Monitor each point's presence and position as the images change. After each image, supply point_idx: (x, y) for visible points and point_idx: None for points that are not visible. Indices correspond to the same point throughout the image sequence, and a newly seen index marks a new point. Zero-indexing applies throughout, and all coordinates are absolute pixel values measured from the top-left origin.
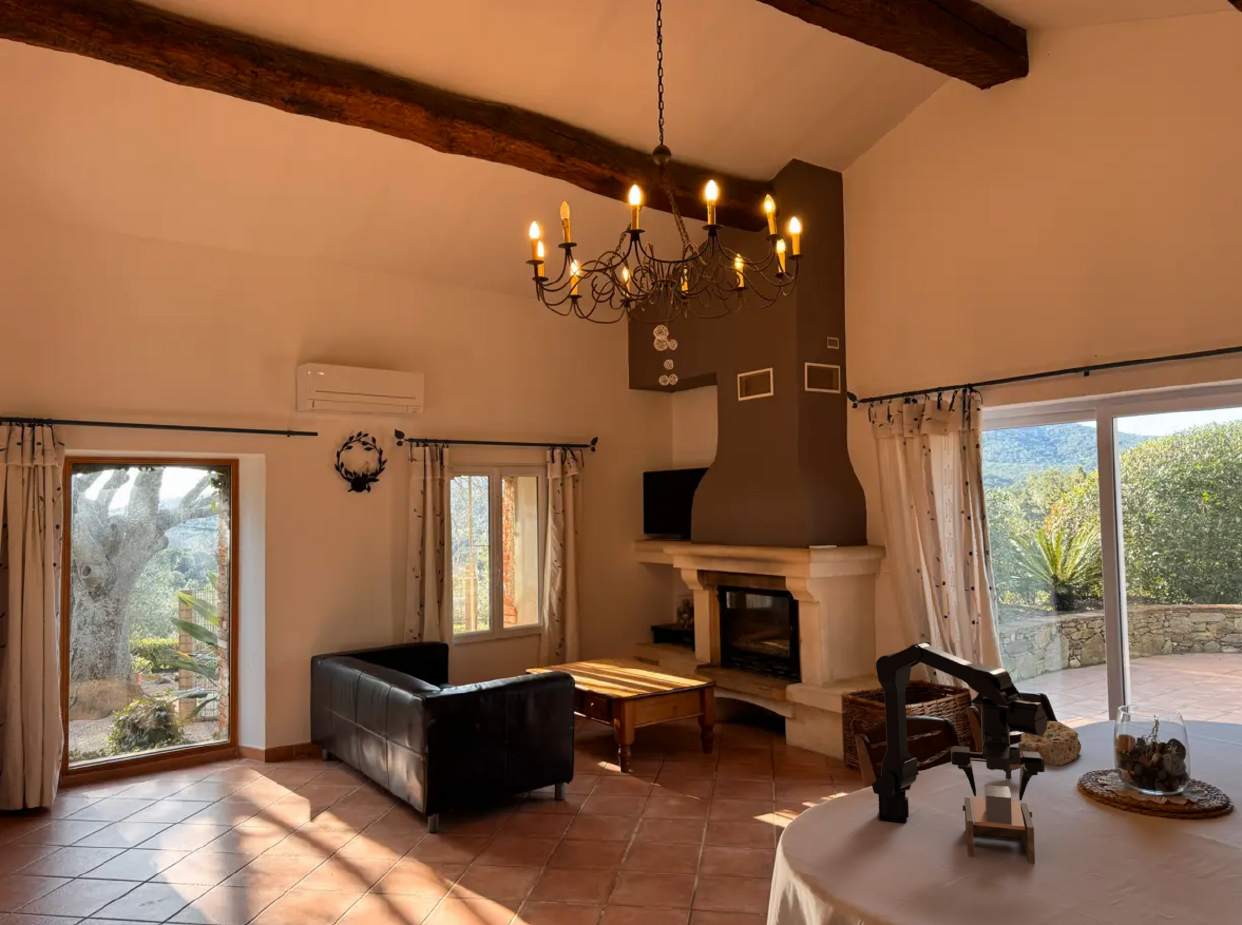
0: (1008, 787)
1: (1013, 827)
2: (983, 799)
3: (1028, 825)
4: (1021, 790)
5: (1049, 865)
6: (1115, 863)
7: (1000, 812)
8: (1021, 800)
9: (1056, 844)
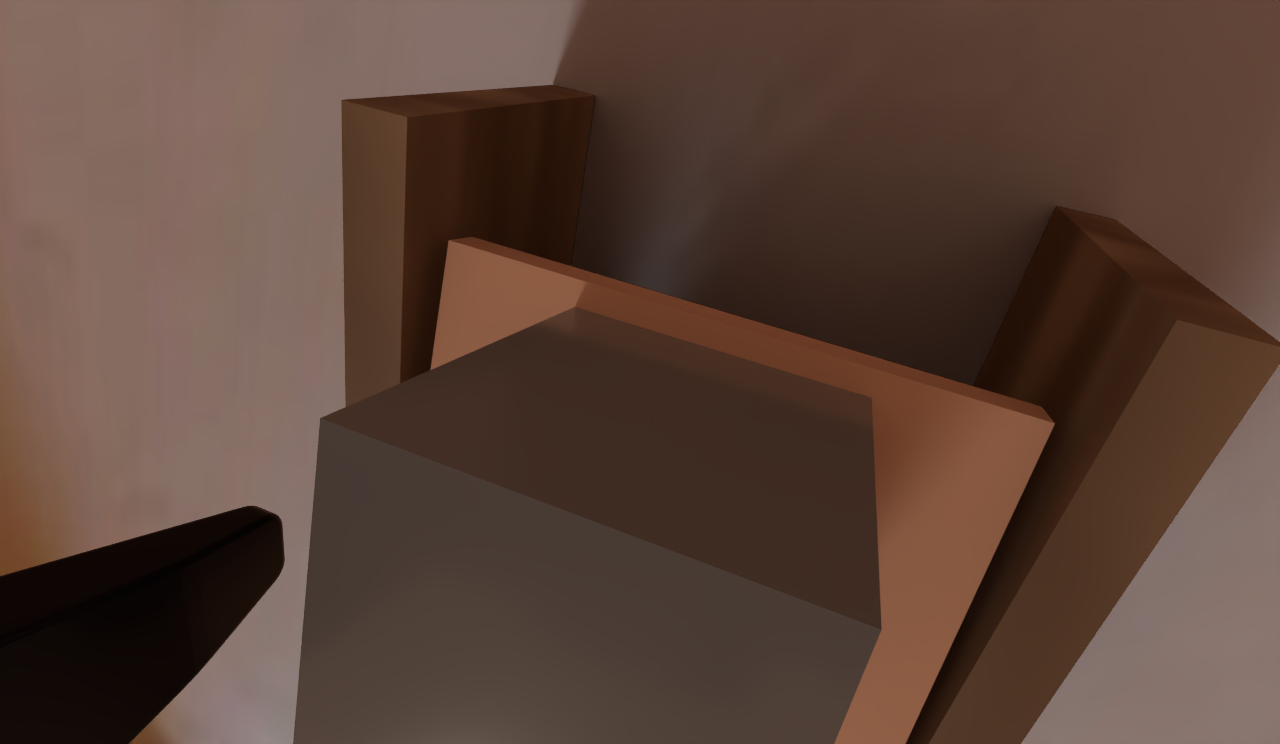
0: None
1: (574, 273)
2: None
3: (391, 170)
4: (66, 595)
5: (455, 63)
6: (100, 143)
7: (657, 383)
8: (256, 506)
9: None
